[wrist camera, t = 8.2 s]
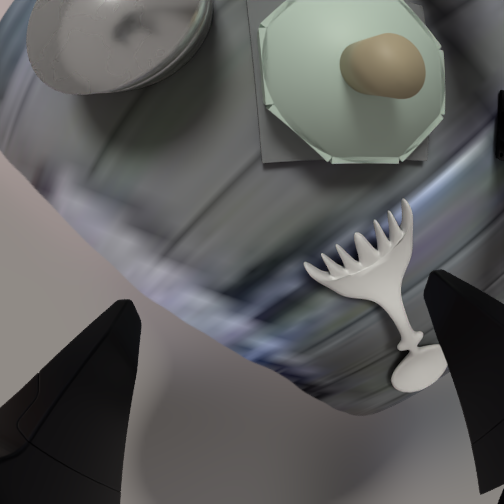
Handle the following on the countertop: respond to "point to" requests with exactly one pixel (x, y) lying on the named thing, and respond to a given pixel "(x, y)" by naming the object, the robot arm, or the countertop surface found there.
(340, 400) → the countertop surface
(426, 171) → the countertop surface
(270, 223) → the countertop surface
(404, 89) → the green octagonal container
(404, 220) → the white spiked part
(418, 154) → the rubber mat
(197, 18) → the tin
